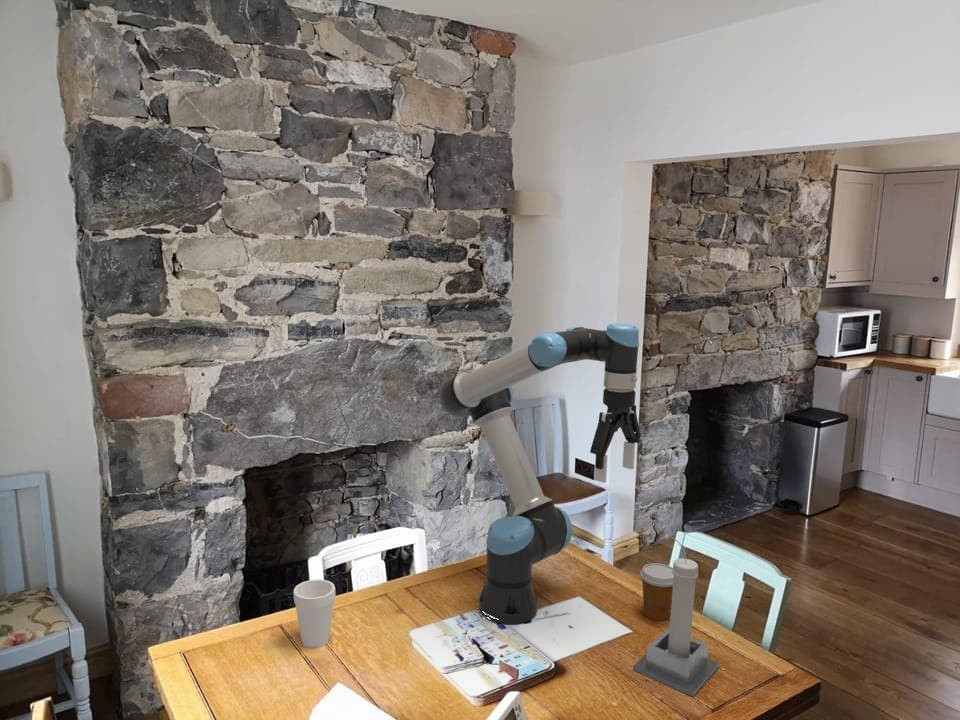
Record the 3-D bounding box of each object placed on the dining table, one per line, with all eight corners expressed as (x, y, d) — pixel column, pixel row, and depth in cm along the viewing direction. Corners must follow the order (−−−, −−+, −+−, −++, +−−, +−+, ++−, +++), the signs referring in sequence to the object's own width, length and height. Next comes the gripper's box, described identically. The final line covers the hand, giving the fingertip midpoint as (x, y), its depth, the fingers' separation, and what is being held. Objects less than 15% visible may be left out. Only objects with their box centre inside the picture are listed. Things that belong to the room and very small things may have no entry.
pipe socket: (633, 670, 157) (634, 646, 156) (661, 644, 168) (662, 622, 167) (693, 697, 149) (695, 672, 148) (718, 667, 159) (720, 644, 158)
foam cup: (343, 640, 166) (343, 589, 164) (310, 656, 160) (309, 603, 157) (320, 625, 173) (319, 575, 170) (287, 639, 166) (285, 588, 164)
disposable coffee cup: (669, 628, 175) (672, 583, 173) (632, 616, 180) (635, 573, 178) (680, 611, 183) (683, 568, 181) (644, 601, 188) (647, 559, 186)
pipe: (691, 673, 155) (702, 544, 150) (662, 669, 156) (672, 541, 151) (689, 659, 160) (699, 534, 155) (660, 655, 161) (670, 531, 156)
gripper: (606, 399, 156) (601, 491, 159) (657, 383, 175) (652, 466, 178) (578, 394, 160) (573, 483, 164) (630, 379, 179) (625, 459, 183)
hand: (614, 474), depth 171 cm, fingers open, 13 cm apart
